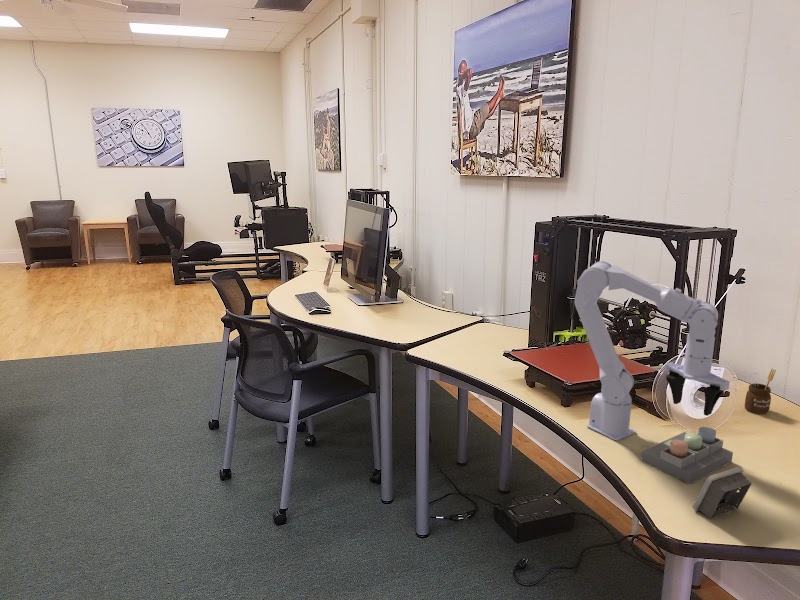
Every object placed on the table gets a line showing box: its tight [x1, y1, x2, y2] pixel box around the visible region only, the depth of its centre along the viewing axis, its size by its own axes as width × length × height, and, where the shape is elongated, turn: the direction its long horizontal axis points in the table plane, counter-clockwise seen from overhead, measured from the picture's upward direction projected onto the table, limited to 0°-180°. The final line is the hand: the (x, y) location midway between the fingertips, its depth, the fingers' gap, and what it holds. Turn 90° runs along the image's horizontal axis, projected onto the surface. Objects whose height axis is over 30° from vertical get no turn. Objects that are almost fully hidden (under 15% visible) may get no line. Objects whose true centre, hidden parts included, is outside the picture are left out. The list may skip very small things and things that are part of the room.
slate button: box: [697, 426, 717, 443], centre depth 138 cm, size 4×4×2 cm
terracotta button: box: [669, 440, 688, 457], centre depth 132 cm, size 4×4×2 cm
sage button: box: [684, 432, 702, 450], centre depth 135 cm, size 4×4×2 cm
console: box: [640, 431, 734, 485], centre depth 136 cm, size 12×17×4 cm
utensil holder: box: [744, 368, 776, 415], centre depth 161 cm, size 6×6×12 cm
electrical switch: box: [692, 466, 753, 520], centre depth 117 cm, size 9×5×9 cm, turn 113°
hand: (691, 408), depth 140 cm, fingers open, 7 cm apart
